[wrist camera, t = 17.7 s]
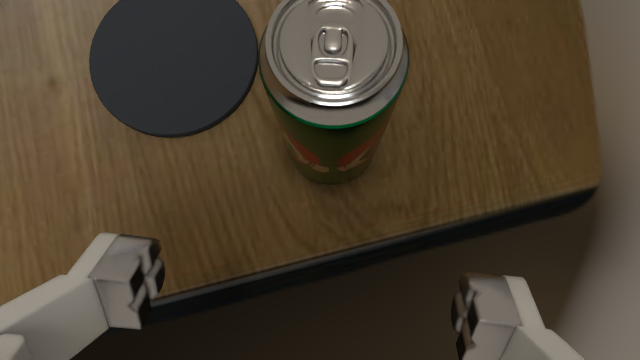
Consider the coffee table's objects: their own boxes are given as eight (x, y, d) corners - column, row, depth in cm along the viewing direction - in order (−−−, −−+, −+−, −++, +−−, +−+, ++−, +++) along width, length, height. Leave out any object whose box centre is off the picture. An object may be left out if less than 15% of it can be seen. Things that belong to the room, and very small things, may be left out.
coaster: (255, -22, 27) (253, -28, 27) (261, 131, 26) (260, 128, 25) (96, -11, 28) (91, -16, 27) (91, 143, 26) (86, 140, 25)
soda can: (377, 104, 26) (418, -30, 14) (373, 189, 25) (413, 122, 13) (291, 99, 26) (260, -37, 14) (284, 183, 25) (244, 112, 13)
